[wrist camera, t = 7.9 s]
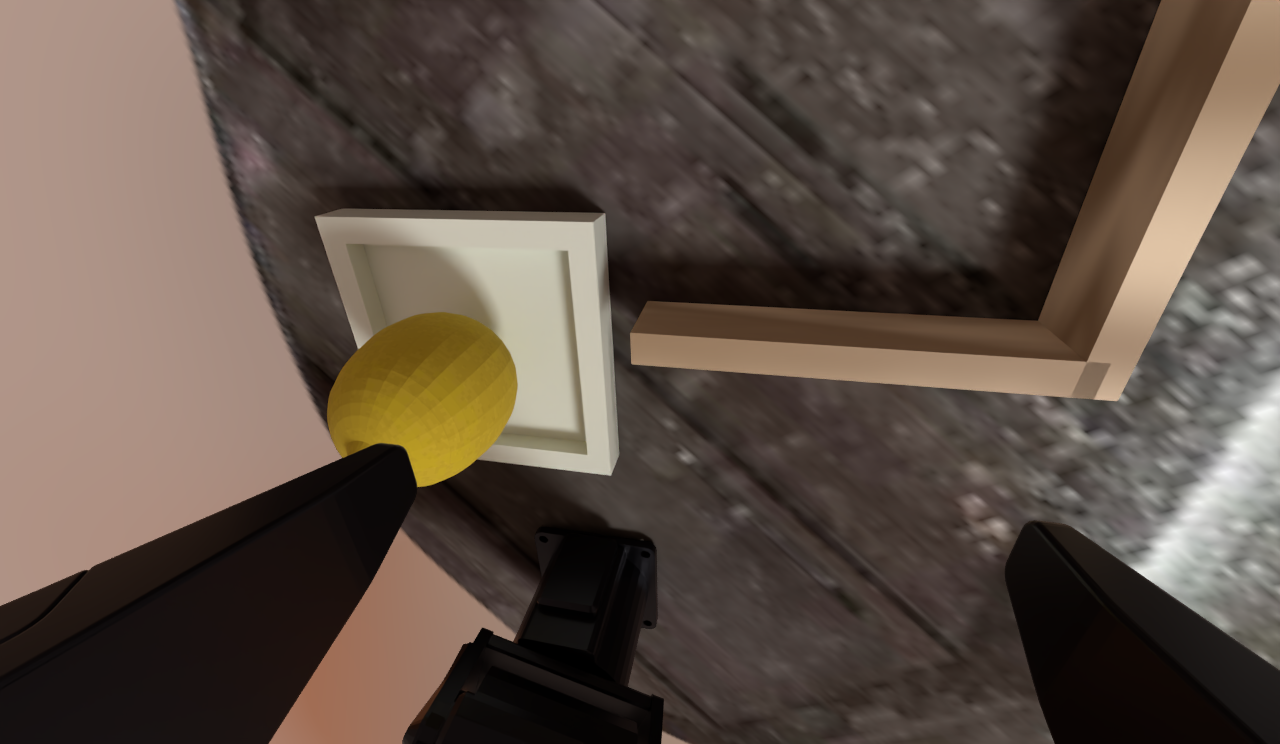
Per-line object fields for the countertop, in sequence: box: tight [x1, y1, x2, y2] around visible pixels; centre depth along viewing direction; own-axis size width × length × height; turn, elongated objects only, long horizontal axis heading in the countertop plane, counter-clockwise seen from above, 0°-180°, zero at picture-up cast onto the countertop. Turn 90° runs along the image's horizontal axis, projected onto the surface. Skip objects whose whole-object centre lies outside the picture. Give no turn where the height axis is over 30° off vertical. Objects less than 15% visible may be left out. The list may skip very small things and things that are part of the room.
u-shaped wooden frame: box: [630, 0, 1280, 401], centre depth 14 cm, size 16×15×3 cm
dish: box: [314, 208, 619, 475], centre depth 21 cm, size 11×11×2 cm
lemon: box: [327, 312, 518, 487], centre depth 18 cm, size 6×6×8 cm
